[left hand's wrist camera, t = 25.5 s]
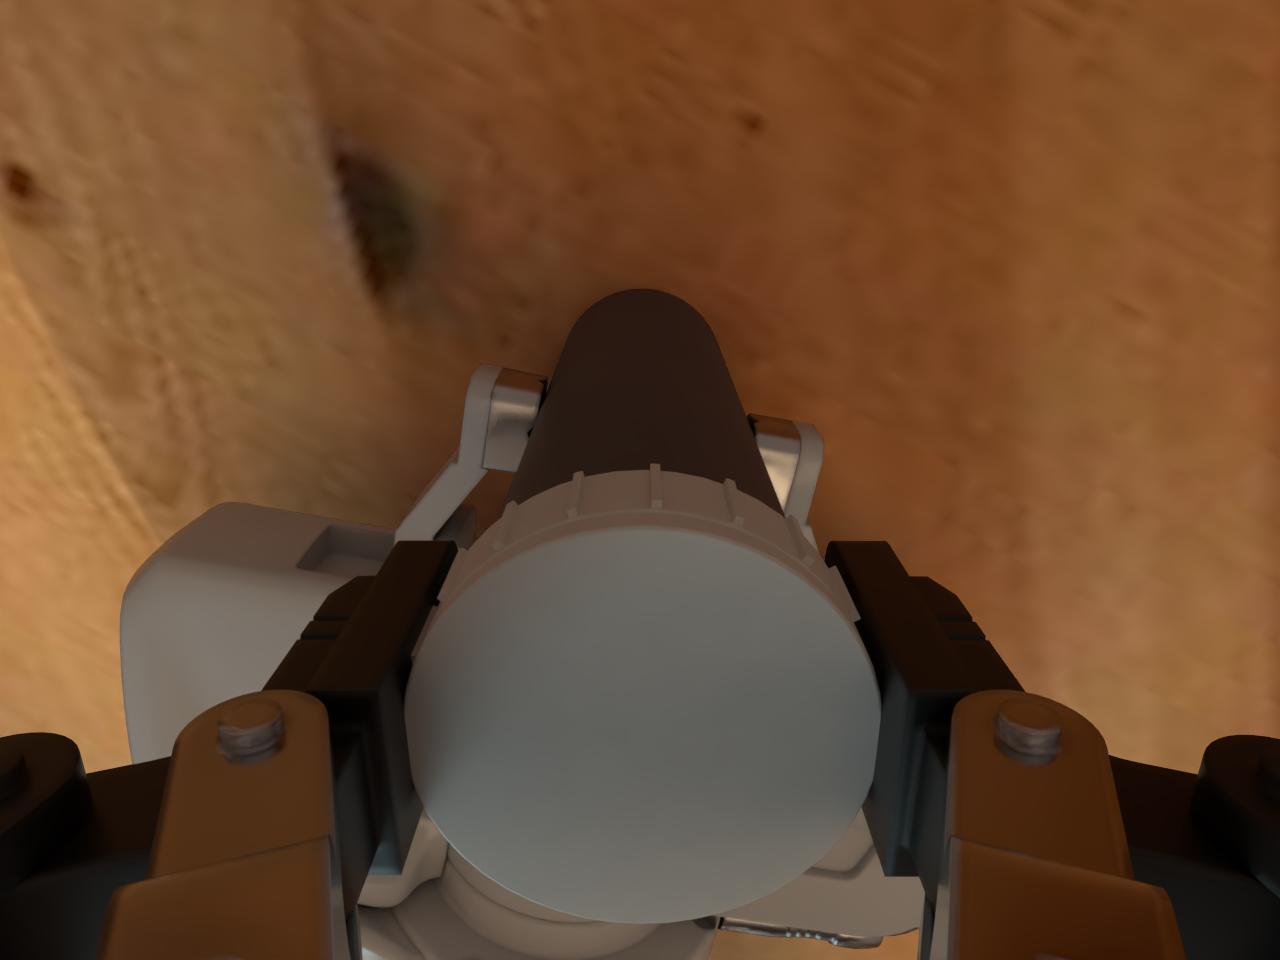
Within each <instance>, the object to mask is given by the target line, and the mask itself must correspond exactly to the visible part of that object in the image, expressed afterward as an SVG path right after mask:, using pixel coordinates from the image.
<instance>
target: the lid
mask: <svg viewBox="0 0 1280 960" xmlns="http://www.w3.org/2000/svg"><path fill="white" fill-rule="evenodd" d="M437 599H438V600H440V603H439V605H438V607H437V606H433V607H432V609H431V612H430V614H429V616H428V618H427V621H426V623H425V625H424V627H423V629H422V632H421V634H420V636H419V638H418V641H417V643H416V645H415V647H414V649H413V652H412V654H411V659H412V664H413V665H412V668H411V672H410V675H409V678H408V682H407V685H406V688H405V696H404V715H405V724H406V733H407V741H408V750H409V758H410V767H411V774H412V781H413V784H414V787H415V790H416V793H417V795H418V797H419V799H420V800H421V802H422V804H423V806H424V808H425V810H426V812H427V814H428V816H429V817H430V818H431V820H432V821H433V823H434V824H435V825H436V827H437V828H438V830H439V831H440V832H441V834H442V835H443V837H444V838H445V839H446V840H447V841H448V842H449V843H450V844H451V845H452V846H453V847H454V848H455V850H456V851H457V852H458V853H459V854H460V855H461V856H462V857H463V858H465V859H466V860H467V861H468V862H469V863H471V864H472V865H473V866H474V867H475V868H477V869H478V870H479V871H480V872H481V873H483V874H484V875H486V876H487V877H489V878H490V879H492V880H493V881H495V882H496V883H498V884H499V885H501V886H502V887H504V888H506V889H508V890H510V891H512V892H514V893H516V894H518V895H520V896H522V897H523V898H525V899H527V900H529V901H532V902H535V903H537V904H540V905H543V906H545V907H548V908H551V909H553V910H556V911H560V912H563V913H567V914H571V915H575V916H579V917H582V918H588V919H594V920H601V921H607V922H617V923H634V924H648V923H670V922H677V921H684V920H691V919H698V918H702V917H706V916H710V915H714V914H718V913H722V912H726V911H728V910H731V909H734V908H737V907H740V906H743V905H745V904H748V903H751V902H753V901H755V900H757V899H759V898H761V897H763V896H765V895H768V894H770V893H772V892H774V891H776V890H777V889H779V888H781V887H782V886H784V885H785V884H787V883H789V882H790V881H792V880H794V879H795V878H797V877H798V876H800V875H801V874H802V873H803V872H805V871H806V870H807V869H808V868H810V867H811V866H812V865H813V864H815V863H816V862H817V861H818V860H820V859H821V858H822V857H823V856H824V855H825V854H826V853H827V852H828V851H829V850H830V849H831V848H832V846H833V845H834V844H835V843H836V842H837V841H838V840H839V839H840V838H841V836H842V835H843V834H844V832H845V831H846V830H847V828H848V827H849V826H850V824H851V823H852V822H853V820H854V819H855V817H856V815H857V814H858V812H859V810H860V808H861V806H862V805H863V803H864V801H865V799H866V798H867V795H868V793H869V790H870V787H871V785H872V782H873V777H874V770H875V762H876V754H877V745H878V737H879V729H880V720H881V709H882V700H881V692H880V688H879V685H878V681H877V677H876V673H875V670H874V666H873V664H872V662H871V660H870V657H869V655H868V653H867V651H866V648H865V646H864V644H863V642H862V639H861V637H860V635H859V633H858V631H857V628H856V626H855V624H854V622H856V621H858V620H860V619H861V618H860V616H859V614H858V611H857V609H856V607H855V605H854V603H853V601H852V599H851V596H850V594H849V592H848V590H847V588H846V586H845V584H844V581H843V579H842V577H841V575H840V573H839V571H838V569H837V567H836V566H833V567H831V568H828V567H827V565H826V564H825V562H824V560H823V559H822V557H821V556H820V554H819V553H818V551H817V550H816V549H815V548H814V547H813V546H812V544H811V543H810V542H809V541H808V540H807V539H806V538H805V536H804V535H803V533H802V530H801V528H800V526H799V523H798V521H797V519H796V518H795V517H794V516H793V515H791V514H790V515H789V516H788V517H787V518H786V519H785V518H784V517H783V516H782V515H780V514H779V513H777V512H776V511H774V510H773V509H771V508H770V507H768V506H767V505H765V504H764V503H762V502H761V501H759V500H758V499H756V498H753V497H751V496H749V495H747V494H745V493H743V492H741V491H739V490H737V488H736V484H735V481H733V480H731V479H728V478H726V479H725V481H724V483H723V484H721V483H718V482H715V481H712V480H709V479H706V478H703V477H698V476H693V475H688V474H683V473H678V472H668V471H660V464H650V470H632V471H615V472H609V473H603V474H597V475H592V476H586V477H585V476H584V473H583V471H579V472H576V473H574V475H573V480H572V481H570V482H566V483H563V484H560V485H557V486H555V487H553V488H551V489H548V490H546V491H544V492H542V493H540V494H537V495H535V496H533V497H531V498H530V499H528V500H526V501H525V502H523V503H521V504H520V505H517V503H516V502H515V501H514V500H513V501H511V502H510V503H508V504H507V505H506V508H505V510H504V513H503V516H502V517H501V518H500V519H499V520H498V521H496V522H495V523H494V524H493V525H492V526H490V527H489V528H488V529H487V530H486V531H485V532H484V533H483V534H482V535H481V536H480V538H479V539H478V540H477V541H476V542H475V543H474V544H473V545H472V546H471V547H470V548H469V550H468V551H467V550H466V549H464V548H461V549H460V550H459V552H458V553H457V555H456V557H455V559H454V562H453V564H452V566H451V568H450V570H449V573H448V575H447V577H446V579H445V582H444V584H443V586H442V588H441V590H440V593H439V595H438V597H437Z"/></svg>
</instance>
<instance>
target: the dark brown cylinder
mask: <svg viewBox="0 0 1280 960" xmlns="http://www.w3.org/2000/svg"><path fill="white" fill-rule="evenodd" d="M650 464H660V471H668V472H678V473H683V474H688V475H693V476H698V477H703V478H706V479H709V480H712V481H715V482H718V483H721V484H723V483H724V481H725V479H726V478H728V479H731V480H733V481H735V484H736V488H737V490H739V491H741V492H743V493H745V494H747V495H749V496H751V497H753V498H756V499H758V500H759V501H761V502H762V503H764V504H765V505H767V506H768V507H770V508H771V509H773V510H774V511H776V512H777V513H779V514H780V515H782V516H783V517H784V518H785V519H786V517H785V514H784V512H783V509H782V507H781V504H780V502H779V499H778V497H777V494H776V491H775V489H774V486H773V484H772V481H771V479H770V476H769V474H768V471H767V468H766V466H765V463H764V461H763V458H762V456H761V453H760V451H759V448H758V445H757V443H756V440H755V438H754V435H753V433H752V430H751V428H750V425H749V422H748V420H747V417H746V415H745V412H744V410H743V407H742V405H741V402H740V399H739V397H738V394H737V392H736V389H735V387H734V384H733V382H732V379H731V377H730V374H729V371H728V369H727V366H726V364H725V361H724V359H723V356H722V354H721V351H720V348H719V346H718V343H717V341H716V338H715V336H714V334H713V332H712V330H711V328H710V326H709V325H708V324H707V322H706V321H705V319H704V318H703V317H702V316H701V315H700V314H699V313H698V312H697V311H696V310H695V309H694V308H693V307H691V306H690V305H689V304H688V303H686V302H684V301H683V300H681V299H679V298H677V297H675V296H673V295H670V294H668V293H664V292H661V291H656V290H649V289H635V290H627V291H623V292H619V293H615V294H613V295H610V296H608V297H606V298H604V299H602V300H600V301H599V302H597V303H596V304H594V305H593V306H592V307H590V308H589V309H588V310H587V311H586V312H585V313H584V314H583V315H582V316H581V317H580V318H579V320H578V321H577V322H576V324H575V325H574V327H573V329H572V330H571V332H570V334H569V336H568V339H567V341H566V344H565V347H564V349H563V352H562V354H561V357H560V359H559V362H558V365H557V367H556V370H555V372H554V375H553V378H552V380H551V383H550V385H549V388H548V391H547V393H546V396H545V398H544V401H543V404H542V406H541V409H540V411H539V414H538V417H537V419H536V422H535V424H534V427H533V430H532V432H531V435H530V437H529V440H528V443H527V445H526V448H525V450H524V453H523V456H522V458H521V461H520V463H519V466H518V469H517V471H516V474H515V476H514V479H513V481H512V484H511V487H510V489H509V492H508V494H507V497H506V500H505V502H504V505H503V507H502V510H501V513H500V515H499V518H498V520H499V519H500V518H501V517H502V516H503V513H504V510H505V508H506V505H507V504H508V503H510V502H511V501H513V500H514V501H515V502H516V503H517V505H520V504H521V503H523V502H525V501H526V500H528V499H530V498H531V497H533V496H535V495H537V494H540V493H542V492H544V491H546V490H548V489H551V488H553V487H555V486H557V485H560V484H563V483H566V482H570V481H572V480H573V475H574V473H576V472H579V471H583V473H584V476H585V477H586V476H592V475H597V474H603V473H609V472H615V471H632V470H650ZM498 520H497V521H498Z"/></svg>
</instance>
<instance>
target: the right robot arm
mask: <svg viewBox="0 0 1280 960" xmlns="http://www.w3.org/2000/svg"><path fill="white" fill-rule="evenodd" d="M547 383H548V376H543V375H538V374H533V373H528V372H523V371H518V370H513V369H508V368H503V367H502V366H495V365H488V364H481V363H480V365H479V366H478V367H477V369H476V370H475V371H474V373H473V374H472V376H471V380H470V383H469V387H468V391H467V395H466V400H465V408H464V416H463V425H462V433H461V441H460V446H459V447H458V448H457V450H456V451H455V452H454V453H453V454H452V456H451V457H450V458H449V459H448V460H447V462H446V463H445V464H444V465H443V467H442V468H441V469H440V470H439V471H438V473H437V474H436V475H435V476H434V477H433V479H432V480H431V481H430V482H429V483H428V485H427V486H426V487H425V488H424V490H423V491H422V492H421V493H420V494H419V496H418V497H417V499H416V500H415V502H414V503H413V505H412V506H411V508H410V510H409V511H408V513H407V514H406V516H405V517H404V519H403V520H402V522H401V523H400V525H399V526H398V528H397V529H390V528H385V527H379V526H373V525H367V524H361V523H355V522H350V521H344V520H338V519H332V518H326V517H320V516H315V515H309V514H303V513H297V512H291V511H285V510H280V509H274V508H268V507H263V506H257V505H252V504H246V503H239V502H225V503H222V504H219V505H216V506H214V507H213V508H211V509H209V510H208V511H206V512H205V513H204V514H202V515H201V516H199V517H198V518H197V519H195V520H194V521H192V522H191V523H190V524H188V525H187V526H185V527H184V528H182V529H181V530H180V531H178V532H177V533H175V534H174V535H173V536H172V537H171V538H169V539H168V540H167V541H166V542H165V543H164V544H163V545H162V546H160V547H159V548H158V549H157V550H156V551H155V552H154V553H153V554H152V555H151V556H150V557H149V558H148V559H147V560H146V561H145V562H144V563H143V564H142V565H141V567H140V568H139V569H138V570H137V571H136V572H135V574H134V575H133V577H132V578H131V580H130V582H129V583H128V585H127V587H126V590H125V592H124V595H123V599H122V604H121V613H120V655H121V672H122V686H123V697H124V708H125V716H126V724H127V732H128V740H129V747H130V753H131V759H132V764H137V763H142V762H147V761H152V760H156V759H160V758H165V757H169V756H171V755H172V750H173V746H174V743H175V740H176V738H177V737H178V735H179V734H180V732H181V731H182V730H183V729H184V728H185V726H186V725H187V724H188V723H189V722H191V721H192V720H193V719H194V718H196V717H197V716H198V715H200V714H201V713H203V712H204V711H206V710H208V709H209V708H211V707H213V706H215V705H217V704H219V703H222V702H224V701H226V700H229V699H232V698H235V697H238V696H241V695H244V694H249V693H253V692H258V691H261V690H262V689H263V687H264V686H265V684H266V683H267V682H268V680H269V679H270V677H271V676H272V674H273V673H274V672H275V670H276V669H277V667H278V666H279V664H280V663H281V662H282V660H283V659H284V657H285V656H286V655H287V653H288V652H289V650H290V649H291V647H292V646H293V645H294V643H295V642H296V640H297V639H300V637H301V636H300V635H301V633H302V632H303V630H304V629H305V628H306V626H307V625H308V623H309V622H310V621H313V616H314V615H315V613H316V612H317V610H318V609H319V608H320V606H321V605H322V603H323V602H324V600H325V599H326V598H327V596H328V595H329V594H330V593H332V592H333V591H335V590H336V589H338V588H340V587H341V586H343V585H344V584H346V583H347V582H349V581H350V580H352V579H353V578H355V577H356V576H376V575H377V573H378V572H379V570H380V568H381V567H382V565H383V564H384V562H385V560H386V559H387V557H388V555H389V554H390V552H391V551H392V549H393V547H394V546H395V544H396V543H397V542H398V541H399V540H454V541H455V543H456V545H457V548H458V552H459V550H460V549H461V548H464V549H466V550H467V551H468V550H469V548H470V547H471V546H472V545H473V544H474V543H473V542H474V533H475V525H476V516H477V510H476V508H475V507H474V506H473V505H468V504H463V503H462V502H463V500H464V499H465V498H466V497H467V496H468V494H469V493H470V492H471V491H472V490H473V488H474V487H475V486H476V485H477V484H478V482H479V481H480V480H481V479H482V477H483V476H484V475H485V474H486V473H487V471H488V470H489V469H496V470H502V471H509V472H515V473H516V471H517V469H518V466H519V463H520V461H521V458H522V456H523V453H524V450H525V448H526V445H527V443H528V440H529V437H530V435H531V432H532V430H533V427H534V424H535V422H536V419H537V417H538V414H539V411H540V409H541V406H542V404H543V401H544V398H545V396H546V391H547ZM747 420H748V422H749V425H750V428H751V430H752V433H753V435H754V438H755V440H756V443H757V445H758V448H759V451H760V453H761V456H762V458H763V461H764V463H765V466H766V468H767V471H768V474H769V476H770V479H771V481H772V484H773V486H774V489H775V491H776V494H777V497H778V499H779V502H780V504H781V507H782V509H783V512H784V514H785V517H786V518H787V517H788V516H789V515H790V514H791V515H793V516H794V517H795V518H796V519H797V521H798V523H799V526H800V528H801V530H802V533H803V535H804V536H805V538H806V539H807V540H808V541H809V542H810V543H811V544H812V546H813V547H814V548H815V549H816V550H817V551H818V548H817V545H816V541H815V538H814V535H813V531H812V528H811V525H810V523H809V521H808V519H807V516H808V513H809V509H810V506H811V502H812V498H813V495H814V491H815V488H816V484H817V480H818V477H819V473H820V470H821V466H822V462H823V455H824V440H823V438H822V436H821V435H820V433H819V432H818V430H817V429H816V427H815V426H814V425H813V424H807V423H802V422H796V421H792V420H786V419H780V418H774V417H768V416H762V415H757V414H751V413H749V415H748V416H747ZM818 553H819V551H818ZM924 895H925V891H924V889H923V886H922V883H921V881H920V878H919V877H885V876H884V873H883V870H882V867H881V864H880V861H879V858H878V855H877V852H876V849H875V846H874V843H873V840H872V837H871V834H870V831H869V828H868V825H867V822H866V819H865V816H864V813H863V810H862V807H861V808H860V810H859V812H858V814H857V815H856V817H855V819H854V820H853V822H852V823H851V824H850V826H849V827H848V828H847V830H846V831H845V832H844V834H843V835H842V836H841V838H840V839H839V840H838V841H837V842H836V843H835V844H834V845H833V846H832V848H831V849H830V850H829V851H828V852H827V853H826V854H825V855H824V856H823V857H822V858H821V859H820V860H818V861H817V862H816V863H815V864H813V865H812V866H811V867H810V868H808V869H807V870H806V871H805V872H803V873H802V874H801V875H800V876H798V877H797V878H795V879H794V880H792V881H790V882H789V883H787V884H785V885H784V886H782V887H781V888H779V889H777V890H776V891H774V892H772V893H770V894H768V895H765V896H763V897H761V898H759V899H757V900H755V901H753V902H751V903H748V904H745V905H743V906H740V907H737V908H734V909H731V910H728V911H726V912H722V913H718V914H714V915H710V916H706V917H702V918H698V919H691V920H684V921H677V922H670V923H648V924H634V923H617V922H607V921H601V920H594V919H588V918H582V917H579V916H575V915H571V914H567V913H563V912H560V911H556V910H553V909H551V908H548V907H545V906H543V905H540V904H537V903H535V902H532V901H529V900H527V899H525V898H523V897H522V896H520V895H518V894H516V893H514V892H512V891H510V890H508V889H506V888H504V887H502V886H501V885H499V884H498V883H496V882H495V881H493V880H492V879H490V878H489V877H487V876H486V875H484V874H483V873H481V872H480V871H479V870H478V869H477V868H475V867H474V866H473V865H472V864H471V863H469V862H468V861H467V860H466V859H465V858H463V857H462V856H461V855H460V854H459V853H458V852H457V851H456V850H455V848H454V847H453V846H452V845H451V844H450V843H449V842H448V841H447V840H446V839H445V838H444V837H443V835H442V834H441V832H440V831H439V830H438V828H437V827H436V825H435V824H434V823H433V821H432V820H431V818H430V817H429V816H428V814H427V812H426V810H425V808H423V811H422V814H421V817H420V820H419V823H418V826H417V829H416V832H415V835H414V838H413V841H412V844H411V847H410V850H409V853H408V856H407V859H406V862H405V865H404V868H403V871H402V874H401V875H367V878H366V881H365V883H364V886H363V889H362V891H361V894H360V897H359V899H358V902H357V908H358V915H359V922H360V931H361V943H362V956H363V960H708V958H709V955H710V951H711V948H712V945H713V941H714V938H715V934H716V931H717V929H719V930H726V931H733V932H740V933H747V934H754V935H761V936H768V937H786V938H793V937H799V938H803V937H805V938H814V939H818V940H826V941H828V942H829V943H830V944H832V945H836V946H839V947H845V948H852V949H869V948H877V947H879V946H880V944H881V943H882V940H883V936H896V935H901V934H906V933H909V932H911V931H914V930H916V929H918V928H920V921H921V915H922V908H923V902H924Z"/></svg>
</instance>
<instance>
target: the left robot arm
mask: <svg viewBox="0 0 1280 960" xmlns="http://www.w3.org/2000/svg"><path fill="white" fill-rule="evenodd" d="M457 553H458V548H457V545H456V543H455V541H454V540H399V541H398V542H397V543H396V544H395V546H394V547H393V549H392V551H391V552H390V554H389V555H388V557H387V559H386V560H385V562H384V564H383V565H382V567H381V568H380V570H379V572H378V573H377V575H376V576H356V577H355V578H353V579H352V580H350V581H349V582H347V583H346V584H344V585H343V586H341V587H340V588H338V589H336V590H335V591H333V592H332V593H330V594H329V595H328V596H327V598H326V599H325V600H324V602H323V603H322V605H321V606H320V608H319V609H318V610H317V612H316V613H315V615H314V616H313V621H310V622H309V623H308V625H307V626H306V628H305V629H304V630H303V632H302V633H301V635H300V636H301V637H300V639H297V640H296V642H295V643H294V645H293V646H292V647H291V649H290V650H289V652H288V653H287V655H286V656H285V657H284V659H283V660H282V662H281V663H280V664H279V666H278V667H277V669H276V670H275V672H274V673H273V674H272V676H271V677H270V679H269V680H268V682H267V683H266V684H265V686H264V687H263V689H262V690H261V691H258V692H253V693H249V694H244V695H241V696H238V697H235V698H232V699H229V700H226V701H224V702H222V703H219V704H217V705H215V706H213V707H211V708H209V709H208V710H206V711H204V712H203V713H201V714H200V715H198V716H197V717H196V718H194V719H193V720H192V721H191V722H189V723H188V724H187V725H186V726H185V728H184V729H183V730H182V731H181V732H180V734H179V735H178V737H177V738H176V740H175V743H174V746H173V750H172V755H171V756H169V757H165V758H160V759H156V760H152V761H147V762H142V763H137V764H132V765H127V766H122V767H117V768H112V769H107V770H102V771H98V772H93V773H88V774H86V772H85V769H84V765H83V762H82V758H81V755H80V751H79V749H78V746H77V745H76V744H75V743H74V742H73V741H72V740H71V739H69V738H67V737H65V736H62V735H58V734H54V733H44V732H40V733H24V734H16V735H11V736H6V737H1V738H0V960H363V956H362V943H361V931H360V922H359V915H358V908H357V902H358V899H359V897H360V894H361V891H362V889H363V886H364V883H365V881H366V878H367V875H401V874H402V871H403V868H404V865H405V862H406V859H407V856H408V853H409V850H410V847H411V844H412V841H413V838H414V835H415V832H416V829H417V826H418V823H419V820H420V817H421V814H422V811H423V808H424V806H423V804H422V802H421V800H420V799H419V797H418V795H417V793H416V790H415V787H414V784H413V781H412V774H411V767H410V758H409V750H408V741H407V733H406V724H405V715H404V696H405V688H406V685H407V682H408V678H409V675H410V672H411V668H412V665H413V664H412V659H411V654H412V652H413V649H414V647H415V645H416V643H417V641H418V638H419V636H420V634H421V632H422V629H423V627H424V625H425V623H426V621H427V618H428V616H429V614H430V612H431V609H432V607H433V606H437V607H438V605H439V603H440V600H438V599H437V597H438V595H439V593H440V590H441V588H442V586H443V584H444V582H445V579H446V577H447V575H448V573H449V570H450V568H451V566H452V564H453V562H454V559H455V557H456V555H457ZM825 564H826V565H827V567H828V568H831V567H833V566H836V567H837V569H838V571H839V573H840V575H841V577H842V579H843V581H844V584H845V586H846V588H847V590H848V592H849V594H850V596H851V599H852V601H853V603H854V605H855V607H856V609H857V611H858V614H859V616H860V618H861V619H860V620H858V621H856V622H854V624H855V626H856V628H857V631H858V633H859V635H860V637H861V639H862V642H863V644H864V646H865V648H866V651H867V653H868V655H869V657H870V660H871V662H872V664H873V666H874V670H875V673H876V677H877V681H878V685H879V688H880V692H881V700H882V709H881V720H880V729H879V737H878V745H877V754H876V762H875V770H874V777H873V782H872V785H871V787H870V790H869V793H868V795H867V798H866V799H865V801H864V803H863V805H862V806H861V807H862V810H863V813H864V816H865V819H866V822H867V825H868V828H869V831H870V834H871V837H872V840H873V843H874V846H875V849H876V852H877V855H878V858H879V861H880V864H881V867H882V870H883V873H884V876H885V877H919V878H920V881H921V883H922V886H923V889H924V891H925V895H924V902H923V908H922V915H921V921H920V931H919V943H918V956H917V960H1280V739H1276V738H1270V737H1265V736H1256V735H1234V736H1227V737H1223V738H1219V739H1217V740H1215V741H1213V742H1212V743H1211V744H1210V745H1209V746H1208V747H1207V748H1206V750H1205V752H1204V755H1203V759H1202V762H1201V766H1200V769H1199V773H1198V775H1197V774H1192V773H1187V772H1182V771H1178V770H1173V769H1168V768H1163V767H1158V766H1153V765H1148V764H1143V763H1138V762H1133V761H1129V760H1125V759H1121V758H1117V757H1114V756H1111V755H1108V750H1107V746H1106V743H1105V740H1104V738H1103V737H1102V735H1101V734H1100V732H1099V731H1098V730H1097V729H1096V728H1095V726H1094V725H1093V724H1092V723H1091V722H1089V721H1088V720H1087V719H1086V718H1084V717H1083V716H1082V715H1080V714H1079V713H1077V712H1076V711H1074V710H1072V709H1071V708H1069V707H1067V706H1065V705H1063V704H1061V703H1058V702H1056V701H1054V700H1051V699H1048V698H1045V697H1042V696H1039V695H1036V694H1031V693H1027V692H1025V691H1024V689H1023V688H1022V686H1021V685H1020V684H1019V682H1018V681H1017V679H1016V678H1015V677H1014V675H1013V674H1012V672H1011V671H1010V670H1009V668H1008V667H1007V665H1006V664H1005V663H1004V661H1003V660H1002V658H1001V657H1000V656H999V654H998V653H997V651H996V650H995V649H994V647H993V646H992V644H991V643H990V642H989V640H985V635H984V633H983V632H982V630H981V629H980V628H979V626H978V625H977V623H976V622H972V616H971V615H970V614H969V612H968V611H967V609H966V608H965V607H964V605H963V604H962V602H961V601H960V600H959V598H958V597H957V595H955V594H954V593H952V592H951V591H949V590H947V589H946V588H944V587H943V586H941V585H940V584H938V583H937V582H935V581H933V580H932V579H930V578H929V577H909V575H908V574H907V572H906V570H905V569H904V567H903V566H902V564H901V562H900V561H899V559H898V558H897V556H896V555H895V553H894V551H893V550H892V548H891V547H890V545H889V544H888V543H887V542H886V541H831V542H830V543H829V544H828V547H827V550H826V556H825Z"/></svg>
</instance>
